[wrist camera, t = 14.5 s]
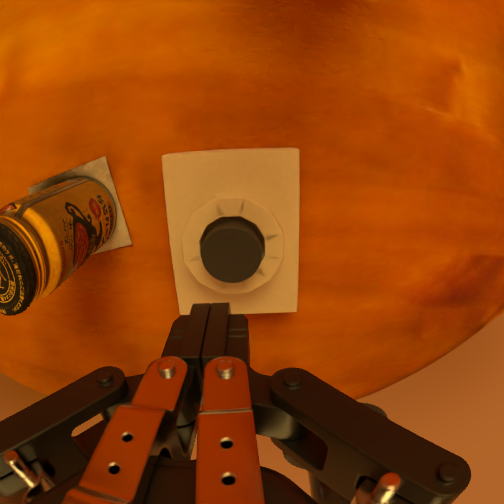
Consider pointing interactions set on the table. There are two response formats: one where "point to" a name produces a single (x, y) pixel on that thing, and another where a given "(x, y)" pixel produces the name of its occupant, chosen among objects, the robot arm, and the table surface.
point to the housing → (237, 208)
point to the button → (231, 251)
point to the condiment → (57, 232)
